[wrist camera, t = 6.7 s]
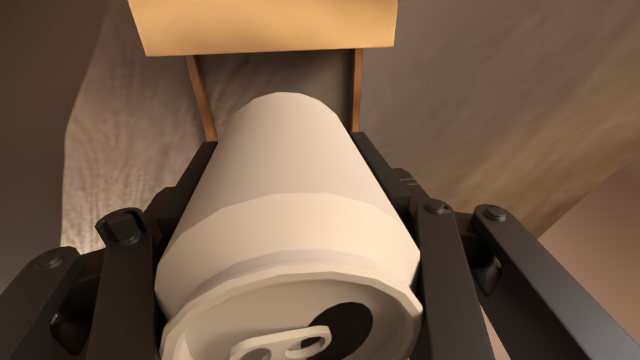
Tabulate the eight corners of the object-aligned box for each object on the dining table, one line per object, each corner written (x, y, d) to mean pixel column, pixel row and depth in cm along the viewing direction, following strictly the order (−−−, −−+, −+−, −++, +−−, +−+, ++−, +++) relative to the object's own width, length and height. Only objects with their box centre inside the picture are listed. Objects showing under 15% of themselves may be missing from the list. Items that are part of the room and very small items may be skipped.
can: (329, 204, 19) (389, 418, 9) (221, 192, 17) (137, 440, 7) (361, 102, 15) (522, 263, 5) (227, 74, 14) (78, 231, 3)
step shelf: (354, 161, 42) (385, 215, 30) (218, 173, 39) (193, 237, 28) (366, -93, 27) (438, -187, 15) (149, -97, 24) (27, -211, 13)
